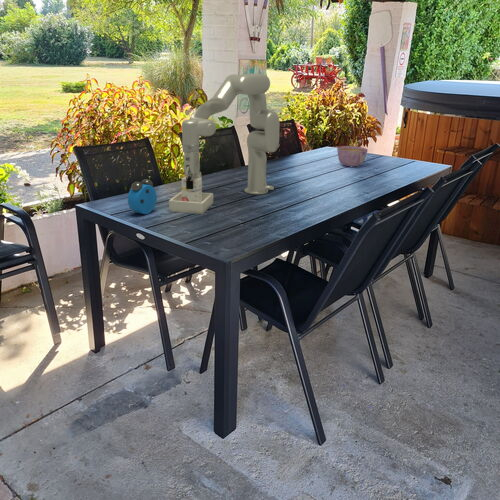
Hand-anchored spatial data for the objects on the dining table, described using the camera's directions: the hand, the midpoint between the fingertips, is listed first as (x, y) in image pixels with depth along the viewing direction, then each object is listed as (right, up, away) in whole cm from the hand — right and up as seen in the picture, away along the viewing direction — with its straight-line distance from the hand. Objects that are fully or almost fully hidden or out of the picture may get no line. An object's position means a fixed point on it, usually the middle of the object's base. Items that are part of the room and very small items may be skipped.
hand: (191, 186), depth 232 cm
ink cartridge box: (0, -7, +3) cm, 8 cm away
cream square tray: (0, -9, +3) cm, 10 cm away
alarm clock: (-21, -13, -7) cm, 26 cm away
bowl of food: (+94, +27, +101) cm, 141 cm away
